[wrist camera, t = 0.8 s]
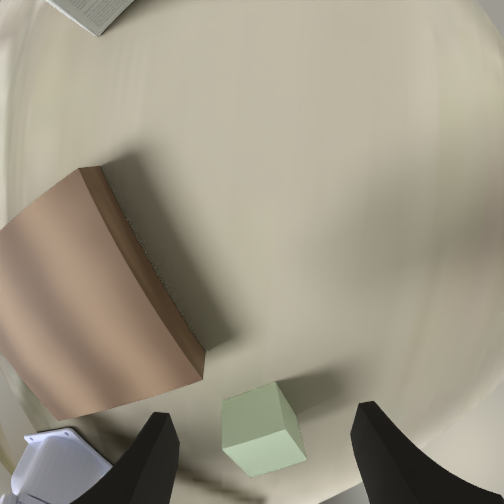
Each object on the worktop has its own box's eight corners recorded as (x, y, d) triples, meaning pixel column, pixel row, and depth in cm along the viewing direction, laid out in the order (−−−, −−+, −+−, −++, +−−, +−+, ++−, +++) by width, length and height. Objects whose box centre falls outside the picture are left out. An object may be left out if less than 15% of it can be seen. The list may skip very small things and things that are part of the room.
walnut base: (70, 398, 21) (58, 420, 19) (-21, 261, 17) (-43, 274, 15) (205, 352, 21) (202, 379, 18) (100, 166, 17) (78, 168, 14)
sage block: (246, 431, 23) (250, 477, 19) (221, 400, 22) (221, 449, 17) (295, 414, 23) (307, 459, 18) (275, 380, 22) (285, 428, 17)
